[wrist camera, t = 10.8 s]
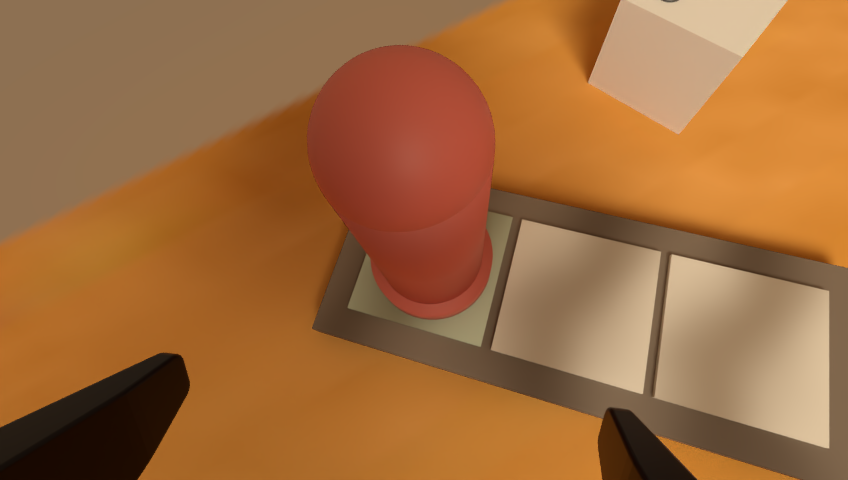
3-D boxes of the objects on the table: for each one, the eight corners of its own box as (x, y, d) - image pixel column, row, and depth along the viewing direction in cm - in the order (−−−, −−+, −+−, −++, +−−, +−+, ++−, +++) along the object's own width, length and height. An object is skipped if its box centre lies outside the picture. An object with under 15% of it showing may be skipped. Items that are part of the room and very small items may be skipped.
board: (838, 277, 17) (864, 269, 16) (840, 491, 15) (870, 499, 14) (378, 172, 21) (373, 159, 20) (319, 331, 18) (310, 327, 17)
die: (731, 67, 21) (809, -28, 16) (677, 135, 20) (744, 55, 15) (641, 22, 23) (689, -78, 18) (587, 83, 22) (622, -5, 17)
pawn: (514, 254, 17) (585, 61, 7) (439, 345, 17) (393, 273, 6) (427, 188, 19) (380, -55, 8) (353, 269, 18) (198, 106, 8)
